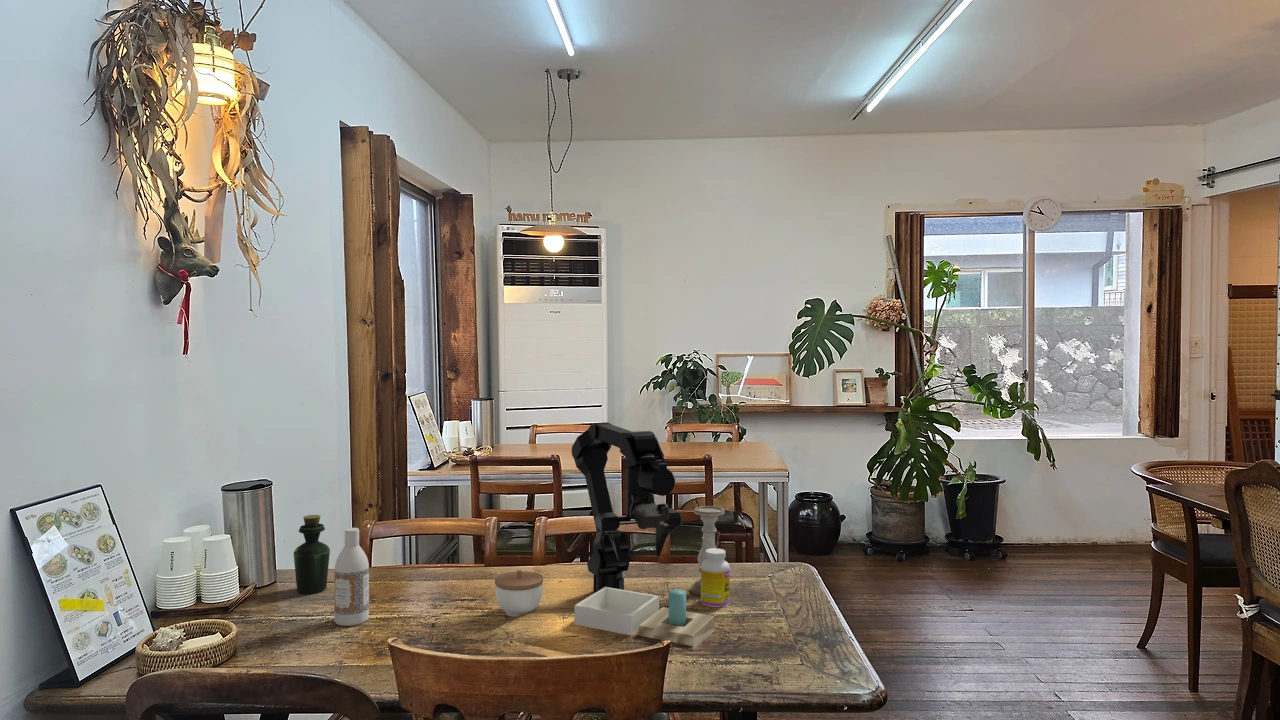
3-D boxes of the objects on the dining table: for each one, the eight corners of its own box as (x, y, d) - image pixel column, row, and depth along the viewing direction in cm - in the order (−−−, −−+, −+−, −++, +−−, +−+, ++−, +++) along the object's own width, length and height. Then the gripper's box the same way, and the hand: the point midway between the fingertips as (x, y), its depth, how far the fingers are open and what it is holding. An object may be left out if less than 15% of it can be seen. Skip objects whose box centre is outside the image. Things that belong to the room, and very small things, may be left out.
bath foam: (327, 624, 158) (327, 531, 157) (349, 613, 164) (349, 524, 164) (354, 628, 156) (354, 534, 155) (375, 617, 162) (375, 526, 162)
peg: (665, 636, 153) (666, 593, 152) (672, 630, 156) (673, 588, 156) (681, 639, 151) (682, 596, 151) (688, 633, 154) (688, 590, 154)
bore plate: (638, 639, 151) (638, 625, 151) (662, 620, 162) (662, 607, 161) (693, 651, 145) (693, 635, 145) (714, 630, 156) (714, 616, 156)
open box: (574, 628, 156) (574, 605, 156) (605, 608, 169) (605, 586, 169) (631, 640, 151) (631, 616, 150) (659, 618, 163) (659, 596, 163)
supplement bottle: (728, 612, 167) (728, 555, 167) (698, 609, 168) (699, 553, 168) (730, 602, 174) (731, 547, 173) (702, 600, 175) (702, 546, 175)
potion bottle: (335, 584, 184) (335, 512, 184) (322, 595, 176) (322, 520, 176) (302, 584, 184) (302, 512, 184) (287, 595, 176) (287, 520, 175)
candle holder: (732, 589, 183) (733, 508, 182) (716, 599, 175) (717, 514, 175) (700, 583, 187) (701, 503, 187) (684, 592, 180) (684, 510, 180)
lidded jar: (552, 612, 166) (553, 570, 166) (514, 624, 158) (514, 581, 158) (523, 600, 174) (523, 560, 173) (485, 612, 166) (485, 570, 166)
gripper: (609, 497, 153) (608, 572, 153) (692, 492, 159) (691, 564, 159) (594, 487, 163) (594, 557, 164) (673, 483, 170) (672, 550, 170)
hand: (638, 558), depth 164 cm, fingers open, 9 cm apart
